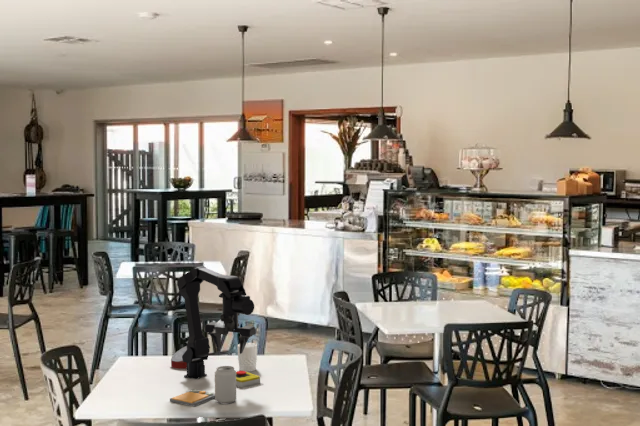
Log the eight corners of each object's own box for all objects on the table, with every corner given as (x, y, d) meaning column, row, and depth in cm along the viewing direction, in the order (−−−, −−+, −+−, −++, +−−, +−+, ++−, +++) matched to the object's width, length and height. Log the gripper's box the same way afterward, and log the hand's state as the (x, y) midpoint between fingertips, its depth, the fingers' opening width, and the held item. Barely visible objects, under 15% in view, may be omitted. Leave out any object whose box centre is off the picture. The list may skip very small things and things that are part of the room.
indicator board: (169, 401, 289) (169, 397, 288) (194, 392, 300) (194, 388, 299) (193, 406, 283) (193, 402, 283) (217, 396, 294) (217, 392, 294)
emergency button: (241, 366, 320) (264, 374, 309) (241, 377, 321) (264, 385, 309) (221, 370, 314) (244, 378, 303) (221, 382, 315) (244, 390, 303)
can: (239, 399, 291) (239, 365, 290) (230, 405, 284) (230, 371, 283) (220, 397, 294) (220, 364, 293) (211, 403, 286) (210, 369, 286)
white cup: (261, 368, 332) (261, 344, 331) (249, 373, 326) (249, 348, 325) (245, 365, 336) (245, 341, 336) (233, 370, 330) (233, 345, 329)
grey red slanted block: (193, 378, 335) (193, 360, 329) (168, 376, 335) (168, 357, 329) (198, 359, 344) (198, 341, 339) (174, 357, 344) (174, 339, 339)
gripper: (197, 312, 300) (196, 354, 301) (243, 317, 293) (242, 360, 294) (211, 306, 310) (211, 347, 311) (256, 311, 303) (256, 352, 305)
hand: (229, 352), depth 305 cm, fingers open, 9 cm apart
